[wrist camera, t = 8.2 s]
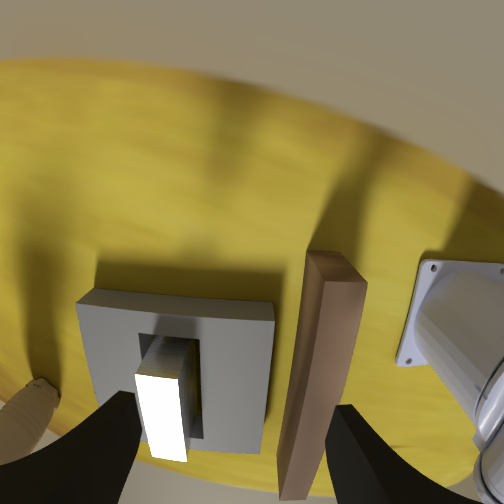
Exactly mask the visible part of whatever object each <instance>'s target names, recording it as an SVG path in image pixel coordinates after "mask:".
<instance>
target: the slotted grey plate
mask: <svg viewBox="0 0 504 504" xmlns="http://www.w3.org/2000/svg"><path fill="white" fill-rule="evenodd" d="M76 309H77V315H78V320H79V326H80V331H81V336H82V341H83V346H84V350H85V355H86V359H87V363H88V367H89V371H90V375H91V379H92V383H93V387H94V390H95V394H96V397H97V401H98V404H99V407H101V406H102V405H103V404H104V403H105V402H106V401H107V400H108V399H110V398H111V397H112V396H113V395H114V394H115V393H117V392H118V391H119V390H121V391H127V392H132V393H135V397H136V402H137V407H138V412H139V416H140V420H141V425H142V429H143V430H142V435H141V439H140V441H142V442H147V443H149V440H148V436H147V432H146V427H145V423H144V418H143V414H142V409H141V404H140V399H139V394H138V388H137V383H136V377H135V373H136V371H137V369H138V368H139V366H140V364H141V362H142V360H143V358H144V356H145V354H146V352H147V351H148V349H149V347H150V345H151V343H152V341H153V338H152V334H153V335H161V336H171V337H181V338H191V339H200V368H201V394H202V415H203V416H202V415H196V419H195V424H194V428H193V433H192V438H191V443H190V447H189V449H194V450H203V451H214V452H226V453H244V454H260V448H261V440H262V433H263V425H264V416H265V408H266V400H267V391H268V382H269V374H270V364H271V355H272V346H273V336H274V326H275V318H274V310H273V303H272V302H262V301H243V300H226V299H211V298H197V297H184V296H171V295H160V294H149V293H138V292H128V291H118V290H108V289H99V288H93V289H91V290H90V291H89V292H88V293H87V294H85V295H84V296H83V297H82V298H81V299H80V300H79V301H77V302H76Z"/></svg>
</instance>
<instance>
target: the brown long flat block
mask: <svg viewBox="0 0 504 504" xmlns="http://www.w3.org/2000/svg"><path fill="white" fill-rule="evenodd" d="M367 285H368V282H367V281H366V280H365V279H364V278H363V277H362V276H361V275H360V274H359V273H358V272H357V270H356V269H355V268H354V267H353V266H352V265H351V264H350V263H349V262H348V261H347V260H346V259H345V258H344V256H343V255H342V254H341V253H340V252H324V251H307V250H306V259H305V268H304V277H303V286H302V294H301V302H300V310H299V318H298V325H297V333H296V340H295V347H294V354H293V361H292V367H291V374H290V380H289V387H288V393H287V399H286V405H285V411H284V417H283V422H282V428H281V433H280V439H279V444H278V449H277V455H276V456H277V470H278V485H279V500H280V501H287V500H305V499H306V498H307V495H308V493H309V490H310V488H311V485H312V483H313V480H314V478H315V475H316V472H317V470H318V467H319V464H320V461H321V459H322V456H323V453H324V450H325V438H326V435H327V432H328V429H329V425H330V422H331V419H332V416H333V412H334V409H335V405H339V403H340V400H341V396H342V393H343V389H344V386H345V382H346V379H347V375H348V371H349V367H350V363H351V359H352V355H353V351H354V347H355V343H356V338H357V334H358V330H359V325H360V320H361V316H362V311H363V306H364V301H365V296H366V290H367Z"/></svg>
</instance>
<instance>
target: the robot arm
mask: <svg viewBox="0 0 504 504" xmlns="http://www.w3.org/2000/svg"><path fill="white" fill-rule="evenodd" d="M432 265H434V269H433V270H431V267H432ZM501 269H502V270H501ZM409 358H410V359H409ZM407 359H409V360H408V361H407ZM395 362H396V364H397V366H398V367H407V366H418V365H427V364H430V366H431V367H432V368H433V370H434V371H435V372H436V374H437V375H438V376H439V377H440V379H441V380H442V381H443V383H444V384H445V385H446V387H447V388H448V389H449V391H450V392H451V393H452V395H453V396H454V397H455V399H456V400H457V402H458V403H459V404H460V406H461V407H462V408H463V410H464V411H465V413H466V414H467V415H468V417H469V418H470V420H471V421H472V422H473V424H474V425H475V426H476V433H475V435H474V437H473V439H472V440H473V442H474V443H475V445H476V446H477V448H478V450H479V451H480V454H479V455H478V457H477V459H476V462H475V465H474V470H473V479H474V485H475V488H476V491H477V493H478V495H479V497H480V499H481V500H482V501H483V503H481V502H478V501H474V500H471V499H468V498H466V497H464V496H461V495H459V494H456V493H454V492H452V491H450V490H448V489H446V488H444V487H443V486H441V485H439V484H437V483H436V482H434V481H432V480H431V479H429V478H427V477H426V476H424V475H423V474H422V473H420V472H419V471H417V470H416V469H415V468H413V467H412V466H411V465H409V464H408V463H407V462H406V461H405V460H403V459H402V458H401V457H400V456H399V455H398V454H397V453H396V452H395V451H394V450H393V449H392V448H390V447H389V446H388V445H387V443H386V442H385V441H384V440H383V439H382V438H381V437H380V436H379V435H378V434H377V433H376V432H375V431H374V430H373V429H372V427H371V426H370V425H369V424H368V423H367V422H366V421H365V419H364V418H363V417H362V416H361V415H360V413H359V412H358V411H357V410H356V409H355V408H354V406H353V405H352V404H348V405H335V409H334V412H333V416H332V419H331V422H330V425H329V429H328V432H327V435H326V438H325V449H326V457H327V464H328V468H329V472H330V476H331V480H332V484H333V488H334V492H335V495H336V499H337V503H338V504H504V264H502V263H486V262H471V261H455V260H439V259H424V260H423V261H422V262H421V263H420V266H419V270H418V275H417V280H416V285H415V289H414V294H413V298H412V302H411V306H410V310H409V314H408V318H407V322H406V325H405V329H404V333H403V336H402V340H401V343H400V347H399V350H398V353H397V356H396V360H395ZM142 430H143V429H142V425H141V420H140V416H139V412H138V407H137V402H136V397H135V393H132V392H127V391H121V390H119V391H118V392H117V393H115V394H114V395H113V396H112V397H111V398H110V399H108V400H107V401H106V402H105V403H104V404H103V405H102V406H101V407H99V408H98V409H97V410H96V411H95V412H94V413H92V414H91V415H90V416H89V417H88V418H86V419H85V420H84V421H83V422H81V423H80V424H79V425H78V426H76V427H75V428H74V429H72V430H71V431H69V432H68V433H67V434H65V435H64V436H62V437H61V438H59V439H58V440H56V441H55V442H53V443H51V444H50V445H48V446H46V447H44V448H42V449H41V450H39V451H37V452H34V453H32V454H30V455H28V456H25V457H23V458H21V459H18V460H15V461H13V462H10V463H6V464H3V465H0V504H118V501H119V498H120V495H121V492H122V490H123V487H124V485H125V482H126V480H127V477H128V474H129V472H130V469H131V467H132V464H133V462H134V459H135V457H136V454H137V451H138V447H139V443H140V439H141V435H142Z"/></svg>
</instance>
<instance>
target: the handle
mask: <svg viewBox="0 0 504 504" xmlns="http://www.w3.org/2000/svg"><path fill="white" fill-rule="evenodd" d="M59 403H60V399H59V398H58V391H57V390H56V388H54V387H52V386H51V385H50V384H49V383H48V382H47V381H46V380H45V379H43V378H39V379H38V380H35V379H34V380H31V381H30V382H29V383H28V384H26V386H25V387H24V388H23V389H21V390H20V391H19V392H17V393H16V394H15V395H14V396H13V397H12V398H11V399H10V400H9V401H8V402H7V403H6V404H5V405H4V406H3V408H2V409H1V410H0V465H3V464H6V463H10V462H13V461H15V460H18V459H21V458H23V457H25V456H28V455H30V454H31V452H32V451H33V449H34V448H35V446H36V445H37V444H38V442H39V441H40V439H41V438H42V436H43V434H44V432H45V430H46V429H47V427H48V425H49V423H50V421H51V418H52V416H53V413H54V411H56V410H57V408H58V406H59Z"/></svg>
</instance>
